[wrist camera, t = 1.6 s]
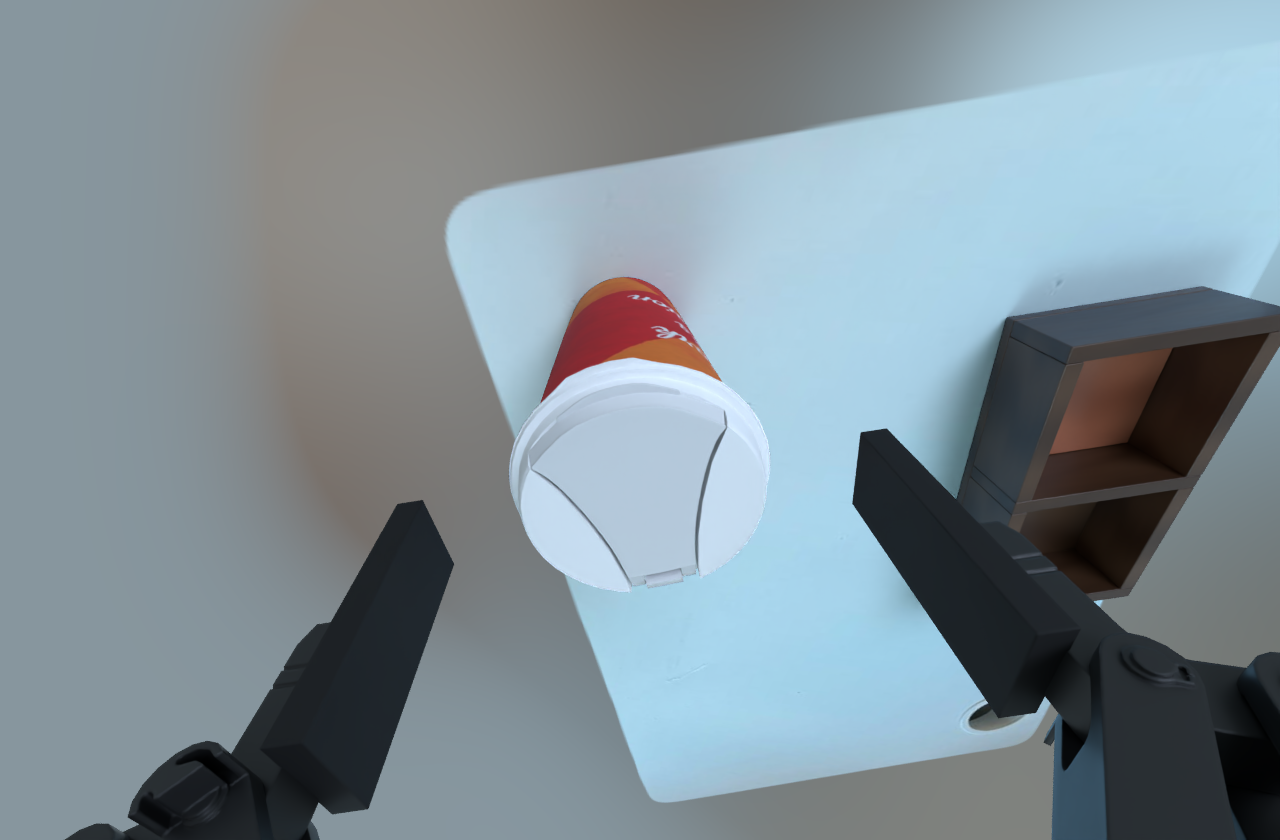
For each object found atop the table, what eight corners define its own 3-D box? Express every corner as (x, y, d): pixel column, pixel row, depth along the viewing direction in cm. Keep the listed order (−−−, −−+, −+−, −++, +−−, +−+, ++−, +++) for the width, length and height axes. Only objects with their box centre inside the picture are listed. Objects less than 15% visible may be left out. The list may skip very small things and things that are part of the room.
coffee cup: (706, 378, 29) (790, 576, 16) (573, 407, 29) (551, 624, 16) (684, 234, 24) (775, 348, 12) (528, 271, 25) (450, 420, 12)
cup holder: (1006, 316, 28) (1072, 347, 24) (1202, 285, 28) (1301, 311, 24) (936, 570, 39) (974, 619, 35) (1075, 549, 39) (1128, 596, 35)
